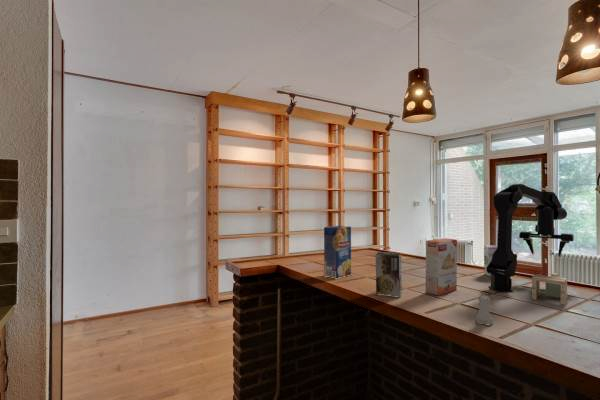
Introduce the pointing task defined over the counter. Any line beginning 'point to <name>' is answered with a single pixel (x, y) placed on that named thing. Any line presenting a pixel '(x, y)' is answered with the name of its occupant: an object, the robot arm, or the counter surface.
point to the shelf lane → (558, 280)
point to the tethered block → (553, 288)
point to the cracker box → (441, 266)
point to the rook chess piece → (484, 310)
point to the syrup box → (488, 256)
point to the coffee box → (388, 273)
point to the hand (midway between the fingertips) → (545, 255)
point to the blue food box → (337, 251)
